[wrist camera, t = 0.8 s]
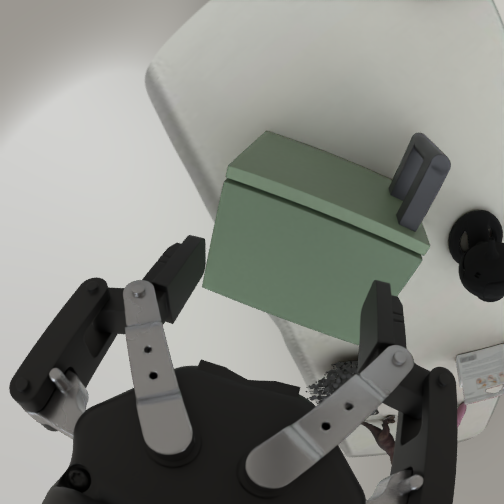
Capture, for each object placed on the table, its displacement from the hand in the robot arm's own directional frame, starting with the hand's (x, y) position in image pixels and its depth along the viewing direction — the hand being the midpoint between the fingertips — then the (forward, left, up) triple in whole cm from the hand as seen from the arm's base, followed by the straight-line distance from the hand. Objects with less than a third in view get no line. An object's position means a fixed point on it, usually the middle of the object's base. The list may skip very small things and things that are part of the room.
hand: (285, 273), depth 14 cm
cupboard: (+7, -2, -20) cm, 21 cm away
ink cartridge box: (+34, +24, -20) cm, 47 cm away
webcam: (+12, +17, -20) cm, 29 cm away
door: (-2, +3, -20) cm, 20 cm away
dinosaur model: (+57, +5, -20) cm, 60 cm away
